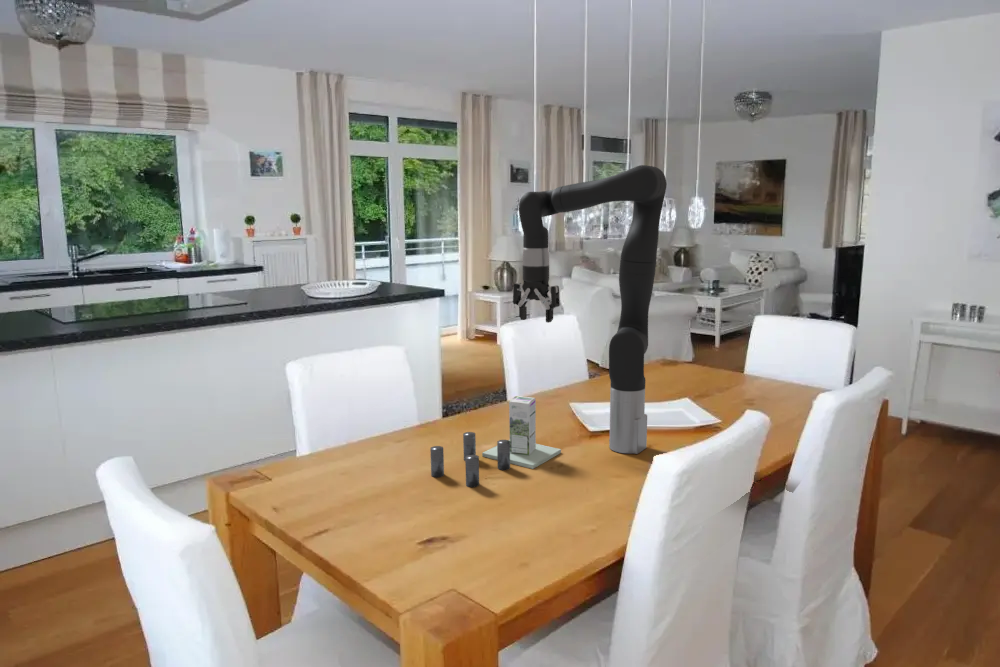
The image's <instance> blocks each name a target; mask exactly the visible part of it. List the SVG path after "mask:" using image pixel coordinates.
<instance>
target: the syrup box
mask: <svg viewBox="0 0 1000 667" xmlns="http://www.w3.org/2000/svg"><path fill="white" fill-rule="evenodd" d="M508 404H509V405H508V408H509V409H508V410H509V412H508V413H509V416H508V417H509V418H508V419H509V440H510V453H516V454H524V455H530V454H531V453H532V452H533V451H534V450H535V449H536V444H537V442H536V420H537V419H536V416H537V414H536V412H537V410H536V404H537V403H536V397H529V396H520V395H519V396H518V395H516V396H514V397H512V398H511V399H510V400H509V403H508Z"/></svg>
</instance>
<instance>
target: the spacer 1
mask: <svg viewBox="0 0 1000 667" xmlns="http://www.w3.org/2000/svg"><path fill="white" fill-rule="evenodd" d="M429 453H430V475H431V477H433V478H442V477H444V475H445V459H444V458H445V457H444V454H445V453H444V447H443V446H440V445H434V446H433V445H432V446H431V447H430V452H429Z"/></svg>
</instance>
